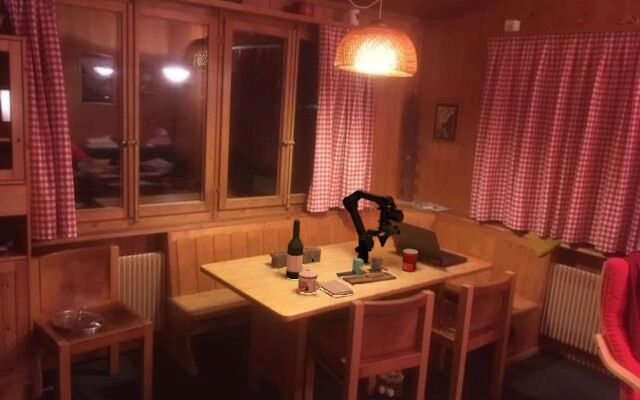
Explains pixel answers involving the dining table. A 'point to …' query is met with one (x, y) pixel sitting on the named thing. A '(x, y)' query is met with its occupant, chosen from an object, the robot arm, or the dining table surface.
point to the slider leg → (358, 266)
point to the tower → (309, 256)
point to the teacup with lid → (308, 281)
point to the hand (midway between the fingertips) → (382, 247)
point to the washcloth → (336, 287)
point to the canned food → (409, 260)
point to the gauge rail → (375, 267)
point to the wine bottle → (294, 253)
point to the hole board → (369, 278)
